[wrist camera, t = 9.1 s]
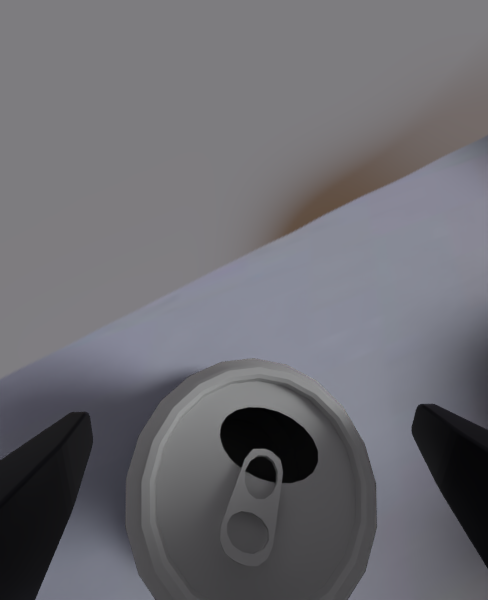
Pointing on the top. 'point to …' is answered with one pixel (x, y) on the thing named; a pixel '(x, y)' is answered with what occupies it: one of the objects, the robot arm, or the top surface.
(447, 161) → the top surface
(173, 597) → the can
